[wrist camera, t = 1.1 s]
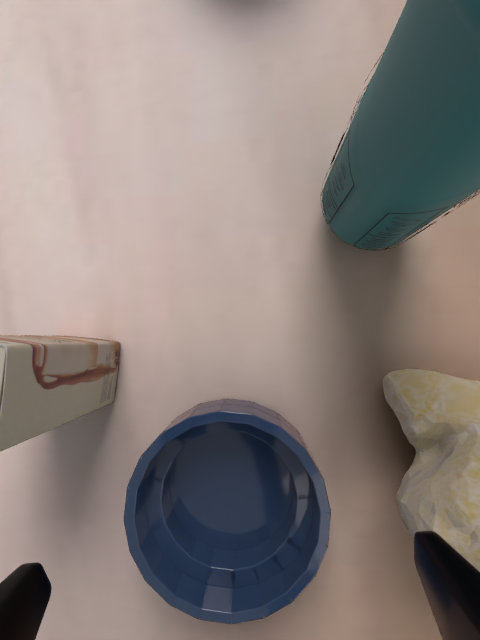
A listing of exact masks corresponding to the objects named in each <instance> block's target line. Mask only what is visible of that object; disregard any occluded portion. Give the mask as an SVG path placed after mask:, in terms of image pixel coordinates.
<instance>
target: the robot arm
mask: <svg viewBox="0 0 480 640" xmlns="http://www.w3.org/2000/svg"><path fill="white" fill-rule="evenodd" d="M414 560H415V565H416V568H417V571H418V574H419V577H420V579H421V582H422V585H423V587H424V590H425V593H426V596H427V598H428V601H429V604H430V606H431V609H432V612H433V615H434V617H435V620H436V623H437V625H438V628H439V631H440V633H441V636H442V639H443V640H480V572H479V571H478V570H477V569H476V568H475V567H474V566H473V565H472V564H471V563H469V562H468V561H467V560H466V559H465V558H464V557H463V556H462V555H461V554H460V553H458V552H457V551H456V550H455V549H454V548H453V547H452V546H451V545H450V544H449V543H447V542H446V541H445V540H444V539H443V538H442V537H441V536H440V535H439V534H437V533H436V532H434V531H418V532H416V533H415V534H414ZM50 595H51V583H50V581H49V579H48V577H47V575H46V573H45V571H44V569H43V566H42V565H41V564H40V563H26V564H23V565H21V566H20V567H18V568H17V569H16V570H15V571H14V572H13V573H11V574H10V575H9V576H8V577H7V578H6V579H5V580H4V581H2V582H1V583H0V640H35V638H36V636H37V633H38V630H39V627H40V624H41V621H42V618H43V616H44V613H45V610H46V607H47V604H48V601H49V598H50Z"/></svg>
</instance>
